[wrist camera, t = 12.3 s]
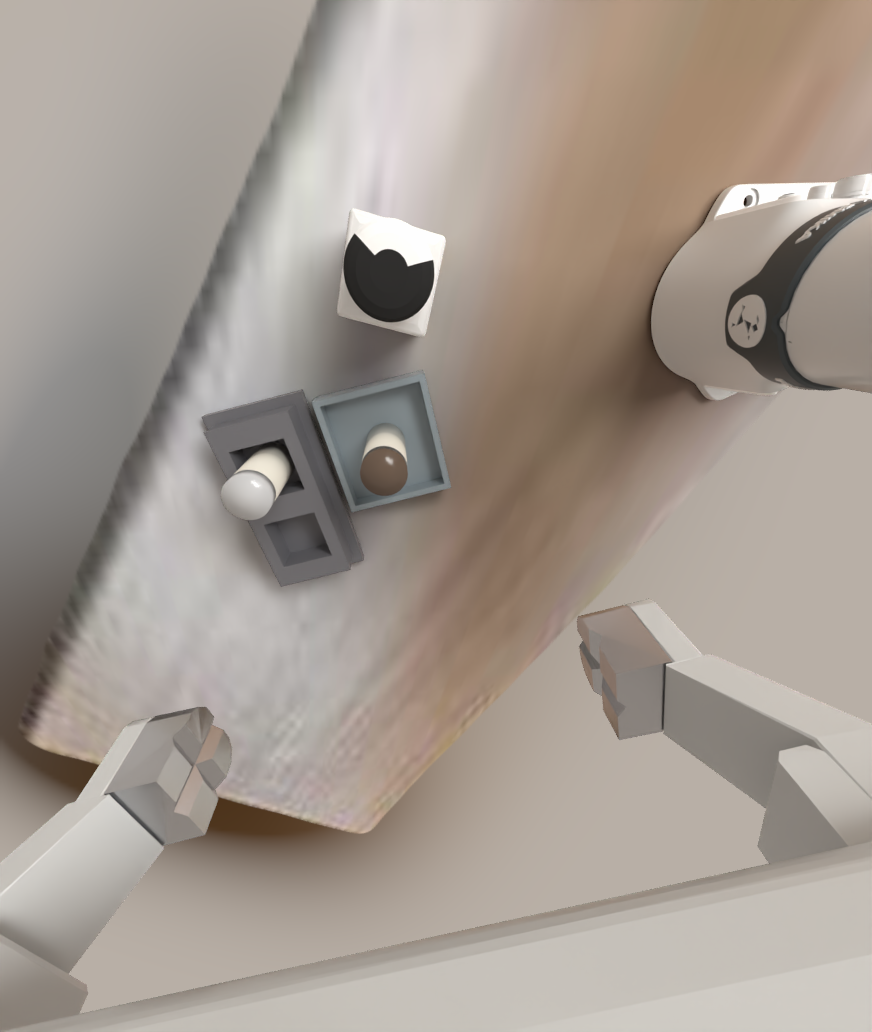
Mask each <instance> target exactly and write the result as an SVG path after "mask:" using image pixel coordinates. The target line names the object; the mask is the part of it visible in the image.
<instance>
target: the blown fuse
mask: <svg viewBox="0 0 872 1032" xmlns="http://www.w3.org/2000/svg"><path fill="white" fill-rule="evenodd" d="M360 477H361V481H362V483H363V485H364V486H365V487H366V488H367V489H368V490H369V491H370V492H372V493H374V494H376V495H380V496H389V495H393V494H395V493H397V492H399V491H400V490H401V489H402V488H403V487H404V485H405V484H406V481H407V478H408V470H407V457H406V444H405V437H404V434H403V432H402V431H401V430H400V429H399V428H398V427H397V426H395V425H393V424H390V423H381V424H378V425H376V426H374V427H373V428H372V429H371V430H370V432H369V434H368V436H367V441H366V445H365V450H364V455H363V459H362V464H361V469H360Z"/></svg>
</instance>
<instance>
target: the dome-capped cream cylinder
mask: <svg viewBox="0 0 872 1032" xmlns="http://www.w3.org/2000/svg"><path fill="white" fill-rule="evenodd" d="M294 469H295V465H294V462H293V460H292V458H291V455H290V453H289V450H288V448H287V447H286V446H284V445H282V444H279V443H267V444H264V445H262V446H261V447H260V448H259V449H258V450H257V451H256V452H255V453H254V454H253V455H252V456H251V457H250V458H249V459H248V460H247V461H246V462H245V463H244V464H243V465H242V466H241V467H240V468H239V469H238V470H237V471H236V472H235V473H234V475H233V476H232V477H231V478H230V479H229V480H228V481H227V482H226V483H225V484H224V485H223V487H222V490H221V500H222V503H223V505H224V507H225V508H226V509H227V510H228V511H229V512H230V513H231V514H232V515H234V516H236V517H238V518H240V519H244V520H256V519H259V518H261V517H263V516H265V515H266V514H267V513H268V511H269V510H270V508H271V506H272V505H273V503H274V502H275V500H276V498H277V497H278V495H279V494H280V492H281V490H282V489H283V487H284V486H285V484H286V483H287V481H288V479H289V478H290V476H291V475H292V473H293V471H294Z"/></svg>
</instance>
